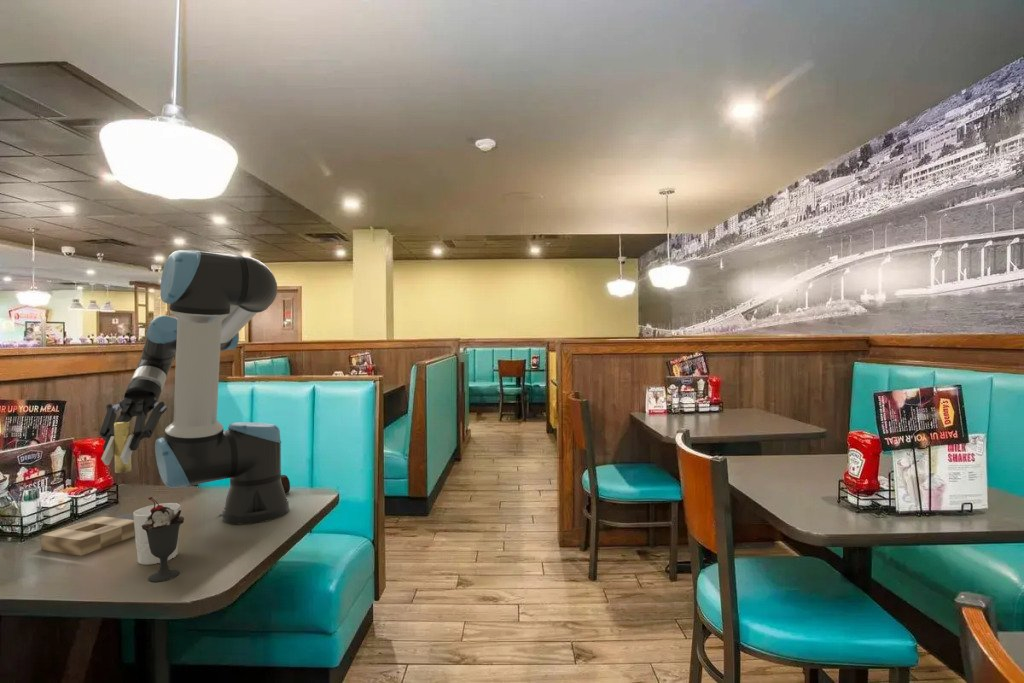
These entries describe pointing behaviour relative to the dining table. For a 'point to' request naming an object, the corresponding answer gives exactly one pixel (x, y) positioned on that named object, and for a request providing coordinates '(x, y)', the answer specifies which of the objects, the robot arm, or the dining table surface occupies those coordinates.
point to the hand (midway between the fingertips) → (114, 461)
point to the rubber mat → (125, 516)
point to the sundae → (163, 538)
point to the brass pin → (121, 445)
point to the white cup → (141, 534)
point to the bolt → (285, 483)
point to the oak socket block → (88, 535)
